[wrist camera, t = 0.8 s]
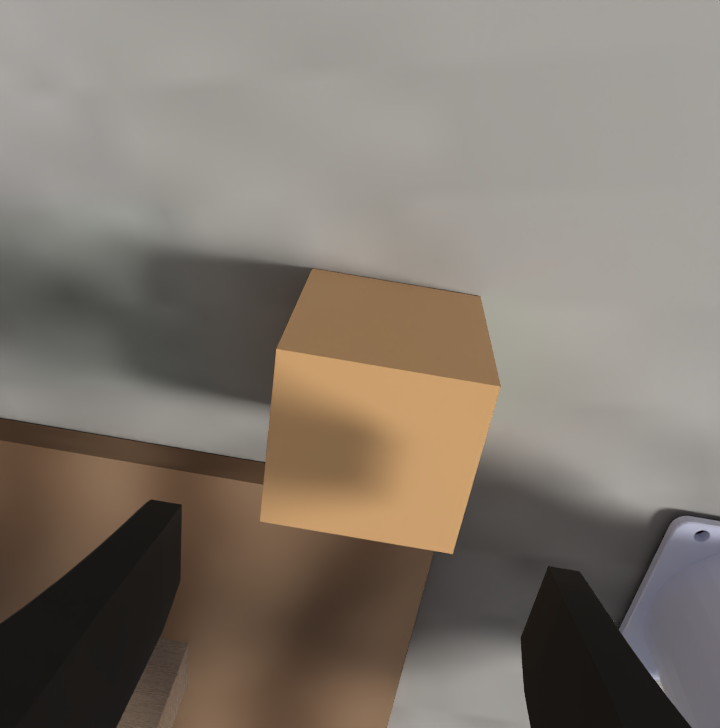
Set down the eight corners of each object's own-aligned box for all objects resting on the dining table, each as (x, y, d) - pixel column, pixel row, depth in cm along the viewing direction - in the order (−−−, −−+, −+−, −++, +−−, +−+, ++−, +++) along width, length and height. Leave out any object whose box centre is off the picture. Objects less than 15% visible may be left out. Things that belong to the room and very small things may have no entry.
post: (188, 643, 26) (144, 761, 22) (187, 683, 28) (145, 803, 23) (126, 631, 26) (69, 748, 22) (127, 673, 28) (74, 791, 23)
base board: (442, 493, 23) (443, 515, 22) (361, 802, 33) (359, 828, 32) (-104, 400, 23) (-129, 418, 22) (-29, 735, 33) (-44, 759, 32)
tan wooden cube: (480, 296, 20) (500, 386, 15) (445, 436, 22) (452, 553, 17) (312, 268, 20) (276, 348, 15) (295, 411, 22) (259, 521, 17)
